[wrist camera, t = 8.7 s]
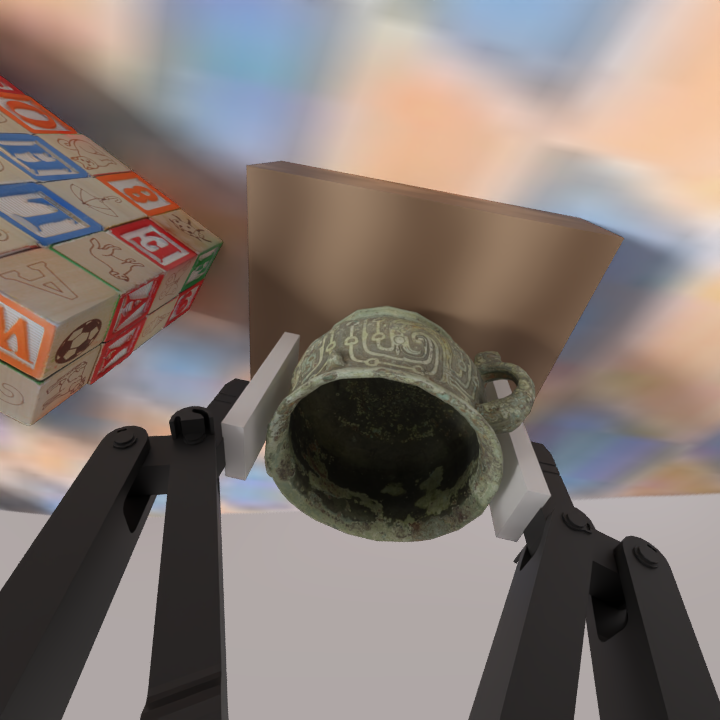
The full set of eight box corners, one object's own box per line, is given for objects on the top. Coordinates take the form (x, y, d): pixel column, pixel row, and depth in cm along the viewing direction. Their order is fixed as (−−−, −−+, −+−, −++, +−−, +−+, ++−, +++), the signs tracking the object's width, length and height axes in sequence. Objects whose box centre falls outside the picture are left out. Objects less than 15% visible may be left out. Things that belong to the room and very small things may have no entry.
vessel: (326, 457, 22) (297, 558, 16) (248, 339, 18) (176, 421, 12) (532, 409, 18) (581, 523, 12) (486, 245, 14) (529, 307, 9)
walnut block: (276, 389, 28) (251, 433, 23) (284, 160, 19) (246, 165, 15) (475, 432, 27) (486, 485, 23) (576, 216, 18) (624, 237, 14)
